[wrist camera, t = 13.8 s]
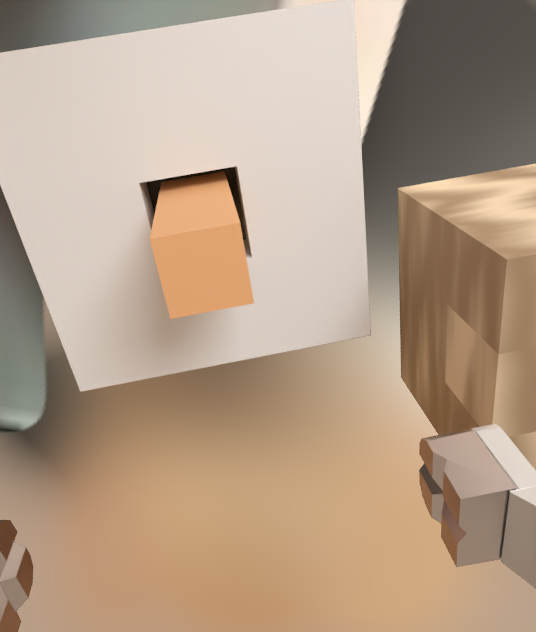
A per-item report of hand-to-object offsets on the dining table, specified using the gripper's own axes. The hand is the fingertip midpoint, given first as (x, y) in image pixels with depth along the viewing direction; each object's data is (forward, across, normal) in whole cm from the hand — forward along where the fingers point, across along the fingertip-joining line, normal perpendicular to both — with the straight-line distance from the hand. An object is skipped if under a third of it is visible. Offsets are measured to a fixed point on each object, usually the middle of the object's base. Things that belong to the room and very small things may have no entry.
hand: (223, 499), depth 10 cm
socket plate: (+22, +1, 0) cm, 22 cm away
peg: (+22, 0, 0) cm, 22 cm away
